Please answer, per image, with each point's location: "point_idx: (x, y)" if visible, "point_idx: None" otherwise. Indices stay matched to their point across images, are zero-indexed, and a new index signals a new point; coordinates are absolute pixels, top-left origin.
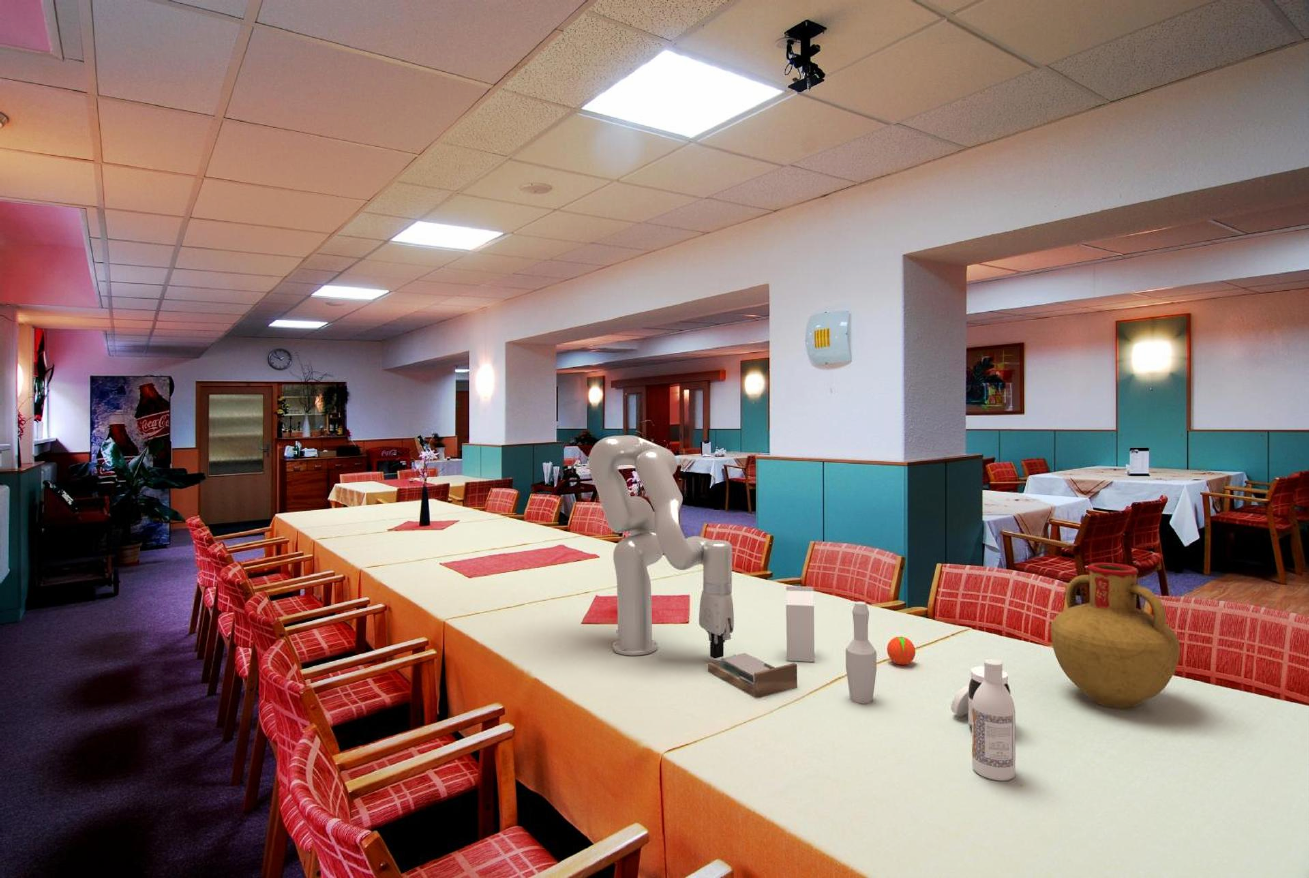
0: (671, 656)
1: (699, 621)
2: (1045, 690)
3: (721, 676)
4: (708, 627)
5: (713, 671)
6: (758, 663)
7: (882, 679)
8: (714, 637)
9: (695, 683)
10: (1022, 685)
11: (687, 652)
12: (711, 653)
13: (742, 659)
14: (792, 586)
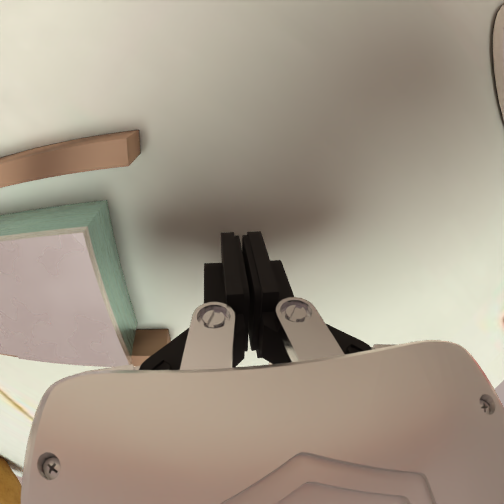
0: (437, 105)
1: (474, 370)
2: (6, 455)
3: (16, 154)
4: (281, 406)
5: (76, 140)
6: (2, 336)
7: (16, 427)
8: (230, 343)
9: (36, 5)
10: (15, 457)
11: (424, 198)
12: (249, 243)
13: (48, 318)
14: None
